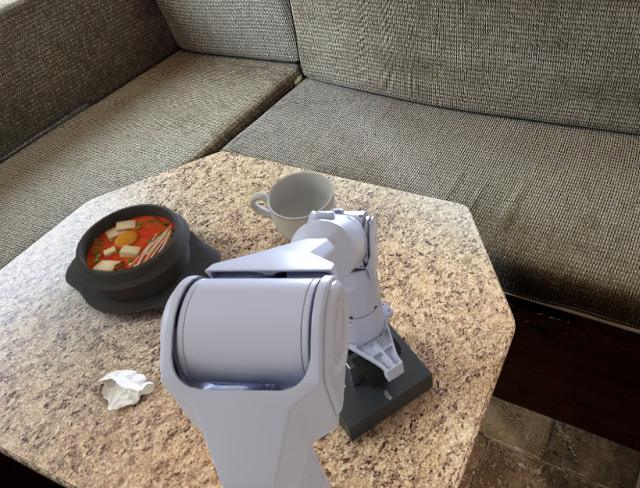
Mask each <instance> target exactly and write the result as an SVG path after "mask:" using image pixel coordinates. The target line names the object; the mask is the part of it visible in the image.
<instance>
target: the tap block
mask: <svg viewBox="0 0 640 488" xmlns="http://www.w3.org/2000/svg"><path fill="white" fill-rule="evenodd" d="M387 322H388V326H389V329H390V332H391V336H392V337H394V338H395V339H396V340H397V342H398V343H399V344H400V345H401V349H402V353H401V354H400V355H399V358H400V359H401V360H402V362H403V368H404V373H402V374H400V375H399V376H398V377H396V378H395V379H393V380H391V381H390V382H389V381H388V380H387V381H385V382H384V383H382V384H381V385H379V386H377V387H376V388H373V387H372V386H371V385H370V383H369V382H368V380H367V379H366V380H364V381H363V382H361V383H360V384H358V385H356V386H355V387H353V385H352V384H351V382H350V381H349V380H348V378H347V374H346V370H345V386H344V401H343V408H342V410H341V412H340V413H339V425H340V426H341V427H342V429H343V431H344V432H345V433H346V435H347V436H348V438H349V440H350V441H351V442H354V441H355V440H357V439H359V438H360V437H362V436H363V435H364V434H366V433H368V432H369V431H371V430H372V429H373V428H374V427H376V426H378V425H380V424H381V423H382V422H384V421H385V420H386V419H388V418H389V417H391V416H392V415H394V414H396V413H397V412H399V411H400V410H401V409H402V408H404V407H406V406H407V405H408V404H410V403H412V402H413V401H414V400H416V399H417V398H419V397H420V396H422V395H423V394H425V393H426V392H428V391H430V390H431V389H432V388H433V387H434V379H433V373H432V371H430V368H428V367H427V366H426V365H425V364H424V362H423V361H422V360H421V358H419V356H418V355H417V354H416V353H415V352H414V350H413V349H412V348H411V347H410V346H409V345H408V344H407V342H406V341H405V339H404V338H402V336H401V335H400V334H399V333H398V331H397V330H396V329H395V328H394V327H393V326H392V324H391V323H390V322H389V321H388V320H387ZM348 356H349V355H347V357H348Z"/></svg>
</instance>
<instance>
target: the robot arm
mask: <svg viewBox="0 0 640 488" xmlns="http://www.w3.org/2000/svg"><path fill="white" fill-rule="evenodd" d="M378 230H379V229H378V223H377V219H376V216H375V215H371V216H370V215H369V214H368V212H367V210H345V209H344V208H340V207H339V208H337V209H330V210H329V211H318V212H316V213H315V212H314V211H311V213H310V216H309V219H308V223H306V224H304V225H303V226H301V227H300V228H299V229H298V230H297V231H296V233H295V234H294V236H293V238H292V240H290V242H289V243H286V244H282V245H279V246H275V247H271V248H268V249H264V250H261V251H258V252H254V253H250V254H247V255H242V256H239V257H238V256H237V257H233V258H231V259H226V260H221V262H218V263H215V264H213V265H211V266H210V267H209V268H207V269H206V270H205V272H206V273H207V274H208V275H209V276H210V278H211V279H209V278H206V277H202V276H189V277H187V278H185V279H183V280H182V281H181V282H180V283H179V285H178V286H177V287H176V289H175V290H174V292H173V293H172V294H171V296H170V297H169V299H168V301H167V304H166V306H165V308H163V309H164V310H163V312H162V316H161V322H160V331H159V343H160V345H159V346H160V350H159V351H160V352H159V372H160V383H162V385H163V387H164V388H165V389H166V390H167V392H168V393H169V394H170V396H171V397H172V399H173V400H174V401H175V403H176V404H177V405H178V407H180V409H181V410H182V412H183V413H184V415H185V416H186V417H187V419H189V421H190V422H191V424H192V425H193V426H195V427H196V428H198V429H199V430H200V431H201V433H202V435H203V439H204V440H205V443H206V446H207V449H208V451H209V455H210V457H211V460H212V463H213V465H214V469H215V472H216V474H217V476H218V480H219V482H220V484H221V486H222V488H332V486H331V484H330V482H329V479H328V477H327V475H326V473H325V471H324V468H323V466H322V464H321V462H320V459H319V458H318V455H317V453H316V451H315V449H314V447H313V445H312V444H314V443H316V442H317V441H319V440H320V439H322V438H323V437H325V436H327V435H328V434H330V433H332V432H333V431H335V430H336V429H338V428H339V425H340V423H339V413H340V412H341V410H342V408H343V401H344V386H345V370H346V360H347V355H349V356H350V355H352V354H353V353H357V354H359V355H358V356H357V357H355V358H353V359H352V360H351V361H352V363H353V364H354V366H355V367H356V368H357V370H358V371H359V372H360V373H361V374H362V375H363V376H366V378H367V380H368V382H369V383H370V385H371V386H372V387H373V388H376V387H377V386H379V385H381V384H382V383H384V382H385V381H387V380H388V381H389V382H390V381H391V380H393V379H395V378H396V377H398V376H399V375H400V374H402V373H404V368H403V362H402V360H401V359H400V358H399V355H400V354H401V353H402V349H401V345H400V344H399V343H398V342H397V340H396V339H395V338H394V337H392V336H391V332H390V329H389V326H388V322H389V321H388V319H390V318H391V317H393V314H394V313H393V309H392V308H391V306H389V304H388V303H387V302H386V301H382V294H381V288H380V282H379V281H380V280H379V275H378V265H379V252H378V249H379V233H378V232H379V231H378ZM387 321H388V322H387Z"/></svg>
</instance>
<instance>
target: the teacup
mask: <svg viewBox="0 0 640 488" xmlns="http://www.w3.org/2000/svg"><path fill="white" fill-rule="evenodd" d="M257 201H262V202H264V203H265V204H266V206H267V208H266V207H263V206H262V205H260V204H259V203H258V202H257ZM249 206H250V209H251V210H252V211H253V212H254V213H256V214H258V215H259V216H261V217H264V218H266V219H270V220H271V221H272V222H273V224H274V227H275V228H276V230H277V232H278V233H279V234H280V235H281V236H282V237H283V238H284V239H287V240H289V241H291V240H292V238H293V236H294V234H295V233H296V231H297V230H298V229H299V228H300V227H301V226H303V225H304V224H306V223H308V219H309V216H310V213H311V211H314V212H315V213H316V212H318V211H329V210H330V209H338V207H337V206H338V205H337V200H336V195H335V187H334V184H333V182H332V180H331V179H330V178H328V176H327V175H324V174H322V173H320V172H317V171H312V170H311V171H310V170H303V171H302V170H301V171H295V172H292V173H289V174H286V175H284V176H281V178H280V179H278V180H276V181H275V182H274V183H273V184H272V185H271V187H270V188H269V190H268V191H267V193H266V192H262V191H257V192H254V193H252V195H251V196H250V198H249Z"/></svg>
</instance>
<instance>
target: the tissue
mask: <svg viewBox="0 0 640 488" xmlns="http://www.w3.org/2000/svg"><path fill="white" fill-rule="evenodd" d="M100 385H103V386H102V388H101V395H103V399H104V400H107V402H108V405H107V410H108V411H112V410H119V409H120V408H121V409H122V408H124V407H126V406H130V405H135V404H137V403H138V402H139V400H140V399H141V396H142V395H149V394H151V393H153V392H154V391H155V383H154V382H152V381H147V376H146V375H145V374H143V373H138V372H137V371H136V370H134V369H124V370H123V369H116V370H113V371H111V372H108V373H107V374H105V375H104V376H103V377H101V378H99V379H98V380H96V381H95V382H93V384H91V386H89V387H88V388H87V389H86V390H85V391H84V393H83V395H85V394H88V395H90V396H93V395H94V391H92V389H93V388H94V387H96V386H100Z"/></svg>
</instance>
